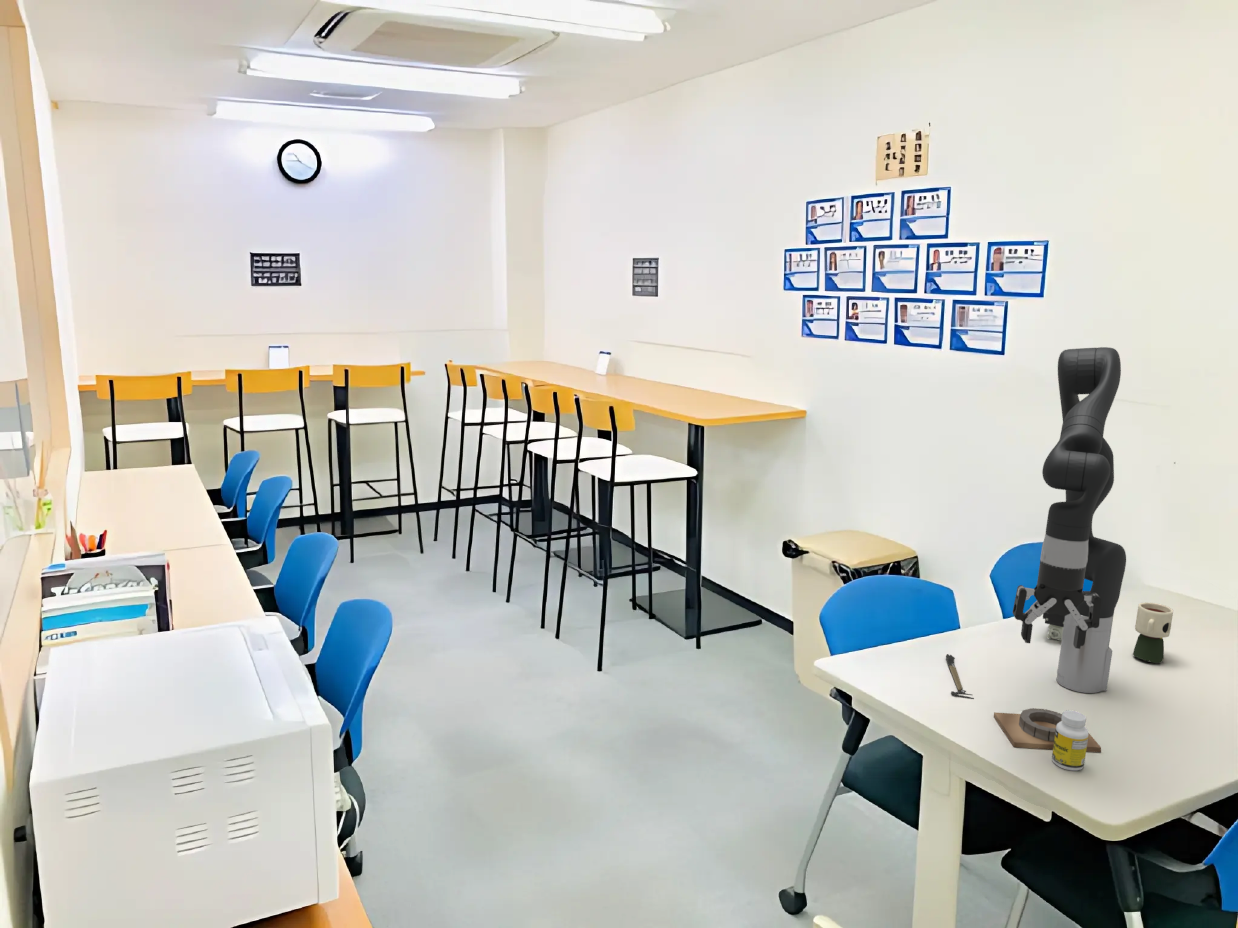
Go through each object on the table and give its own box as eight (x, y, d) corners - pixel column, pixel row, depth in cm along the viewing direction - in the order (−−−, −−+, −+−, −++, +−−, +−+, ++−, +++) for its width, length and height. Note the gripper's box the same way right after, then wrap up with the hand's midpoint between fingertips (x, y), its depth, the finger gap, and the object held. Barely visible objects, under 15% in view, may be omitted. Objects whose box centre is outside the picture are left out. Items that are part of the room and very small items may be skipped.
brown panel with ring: (1074, 721, 186) (1076, 707, 185) (1100, 752, 174) (1102, 737, 173) (993, 716, 187) (995, 703, 186) (1013, 746, 175) (1015, 732, 174)
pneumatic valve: (1068, 632, 232) (1075, 587, 229) (1062, 647, 222) (1068, 600, 220) (1045, 627, 235) (1050, 582, 232) (1037, 642, 225) (1043, 595, 223)
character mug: (1161, 671, 210) (1169, 617, 208) (1126, 662, 215) (1134, 610, 212) (1168, 656, 219) (1176, 604, 216) (1134, 648, 223) (1142, 597, 220)
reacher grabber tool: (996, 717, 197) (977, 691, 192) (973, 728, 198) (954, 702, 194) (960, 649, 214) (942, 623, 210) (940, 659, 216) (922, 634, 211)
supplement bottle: (1045, 756, 172) (1052, 708, 170) (1073, 755, 173) (1080, 707, 170) (1061, 771, 167) (1068, 722, 165) (1090, 771, 167) (1097, 721, 165)
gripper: (1100, 558, 168) (1087, 641, 171) (1017, 550, 171) (1006, 632, 174) (1112, 570, 161) (1099, 657, 164) (1025, 562, 164) (1014, 647, 167)
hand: (1051, 644), depth 169 cm, fingers open, 8 cm apart
